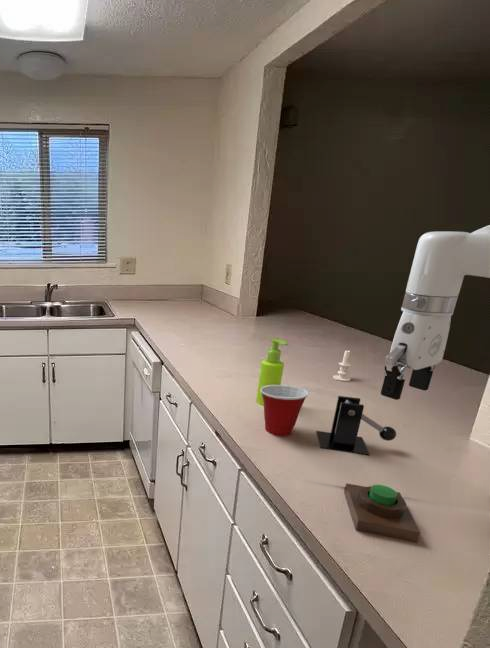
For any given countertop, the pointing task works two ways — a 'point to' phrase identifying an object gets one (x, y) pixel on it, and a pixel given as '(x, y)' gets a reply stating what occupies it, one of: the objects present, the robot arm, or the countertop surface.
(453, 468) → the countertop surface
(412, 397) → the countertop surface
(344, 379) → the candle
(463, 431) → the countertop surface
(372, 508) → the button block
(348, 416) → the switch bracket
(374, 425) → the light lever
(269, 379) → the soap dispenser
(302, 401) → the plastic cup
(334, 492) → the countertop surface
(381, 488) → the light button
